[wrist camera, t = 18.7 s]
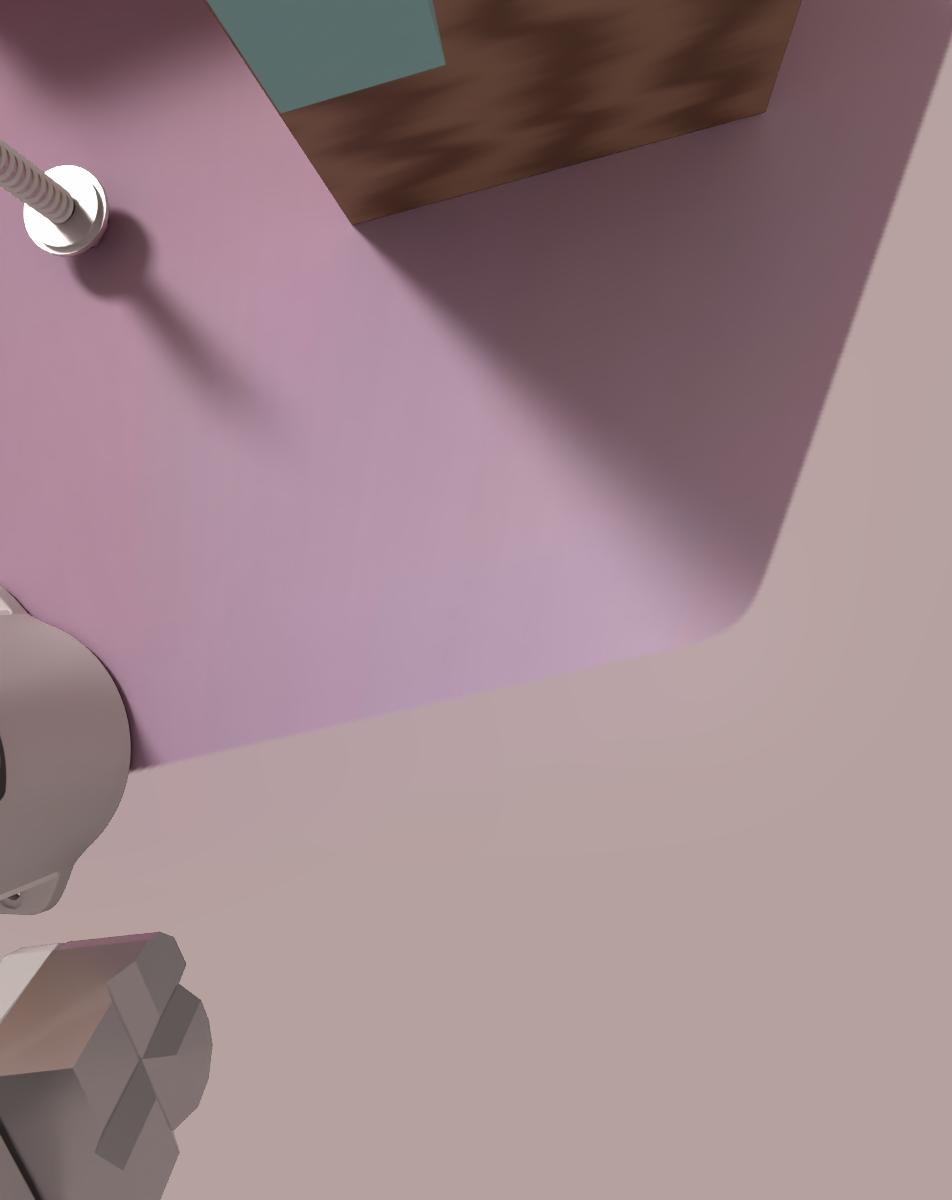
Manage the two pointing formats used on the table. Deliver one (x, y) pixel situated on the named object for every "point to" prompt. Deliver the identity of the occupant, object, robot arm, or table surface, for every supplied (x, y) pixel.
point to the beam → (330, 44)
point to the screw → (56, 203)
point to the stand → (541, 94)
